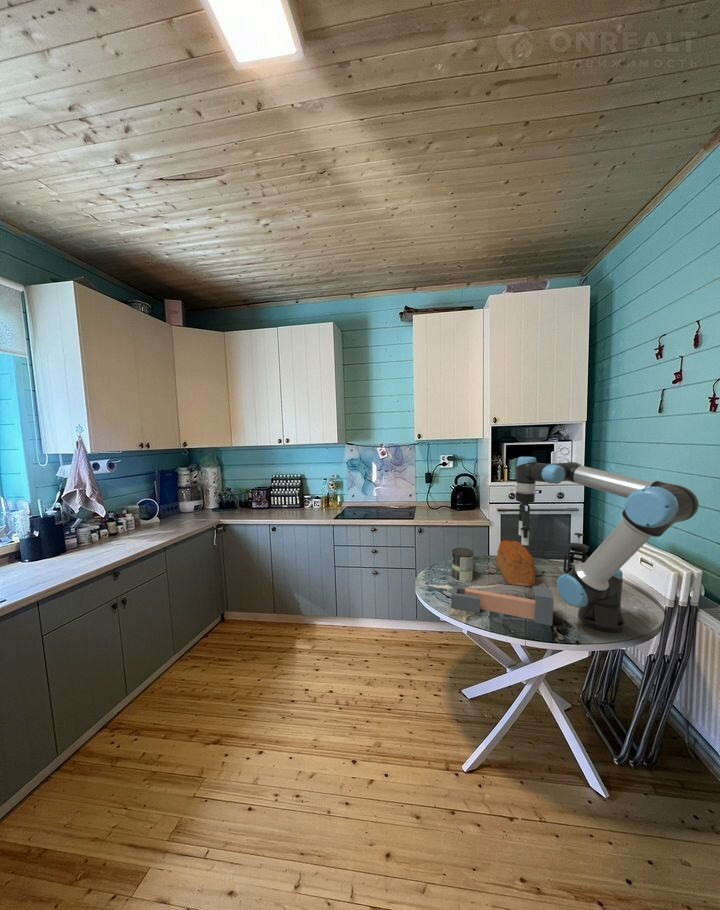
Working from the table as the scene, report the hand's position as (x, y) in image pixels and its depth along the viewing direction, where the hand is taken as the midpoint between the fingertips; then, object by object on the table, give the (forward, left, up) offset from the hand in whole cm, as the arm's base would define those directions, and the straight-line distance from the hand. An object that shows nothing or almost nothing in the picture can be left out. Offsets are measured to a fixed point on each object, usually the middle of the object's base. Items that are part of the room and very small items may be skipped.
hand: (523, 539), depth 155 cm
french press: (-28, -32, -27) cm, 50 cm away
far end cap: (+23, +15, -27) cm, 38 cm away
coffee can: (+26, -12, -27) cm, 39 cm away
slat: (+9, +15, -27) cm, 32 cm away
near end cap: (-6, +15, -27) cm, 31 cm away
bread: (+1, -26, -27) cm, 38 cm away
